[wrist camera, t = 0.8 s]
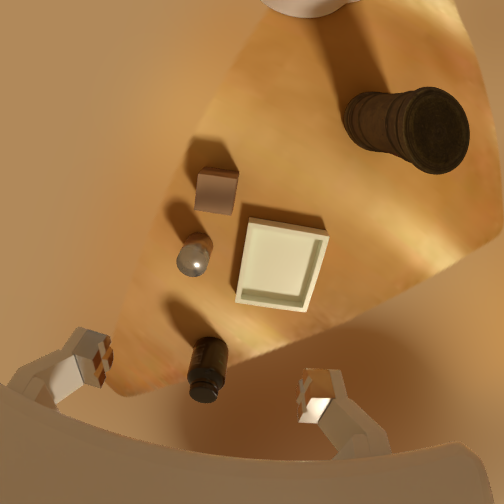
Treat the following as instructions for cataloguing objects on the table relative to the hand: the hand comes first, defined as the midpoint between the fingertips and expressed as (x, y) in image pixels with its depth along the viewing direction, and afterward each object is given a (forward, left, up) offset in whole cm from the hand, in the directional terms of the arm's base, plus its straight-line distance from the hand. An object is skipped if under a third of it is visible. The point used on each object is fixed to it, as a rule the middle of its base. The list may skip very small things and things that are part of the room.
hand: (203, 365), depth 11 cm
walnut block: (+2, -3, -34) cm, 34 cm away
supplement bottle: (+34, -1, -34) cm, 48 cm away
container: (-12, +17, -34) cm, 40 cm away
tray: (+13, +8, -34) cm, 37 cm away
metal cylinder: (+12, -5, -34) cm, 37 cm away
